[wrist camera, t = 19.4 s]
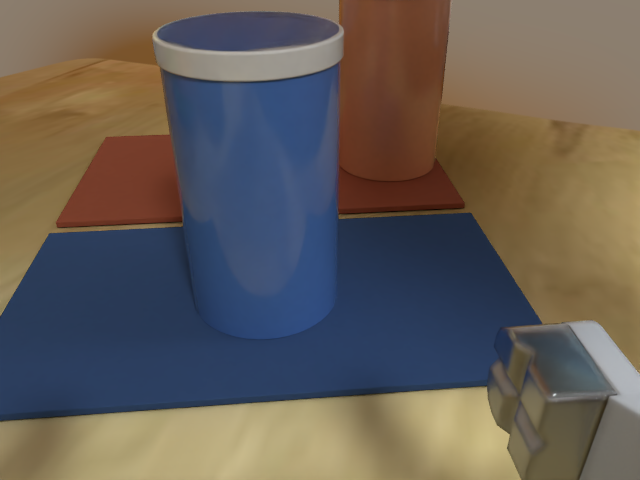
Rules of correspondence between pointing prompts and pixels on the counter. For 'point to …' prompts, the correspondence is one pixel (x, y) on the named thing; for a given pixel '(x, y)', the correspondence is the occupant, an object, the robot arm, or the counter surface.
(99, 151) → the terracotta mat
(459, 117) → the counter surface
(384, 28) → the terracotta canister
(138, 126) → the counter surface
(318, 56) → the blue canister
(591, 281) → the counter surface
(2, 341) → the blue mat
